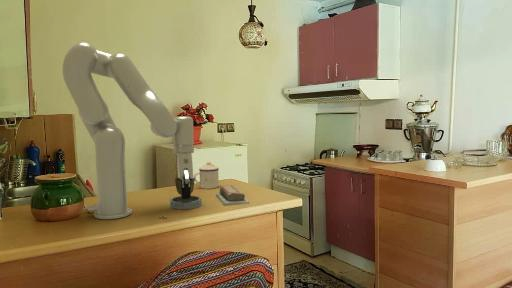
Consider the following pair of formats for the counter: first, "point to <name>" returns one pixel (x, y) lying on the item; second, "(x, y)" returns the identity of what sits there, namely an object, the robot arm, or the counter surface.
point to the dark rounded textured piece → (179, 186)
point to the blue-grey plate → (185, 203)
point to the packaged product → (231, 195)
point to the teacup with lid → (208, 176)
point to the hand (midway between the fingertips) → (185, 195)
